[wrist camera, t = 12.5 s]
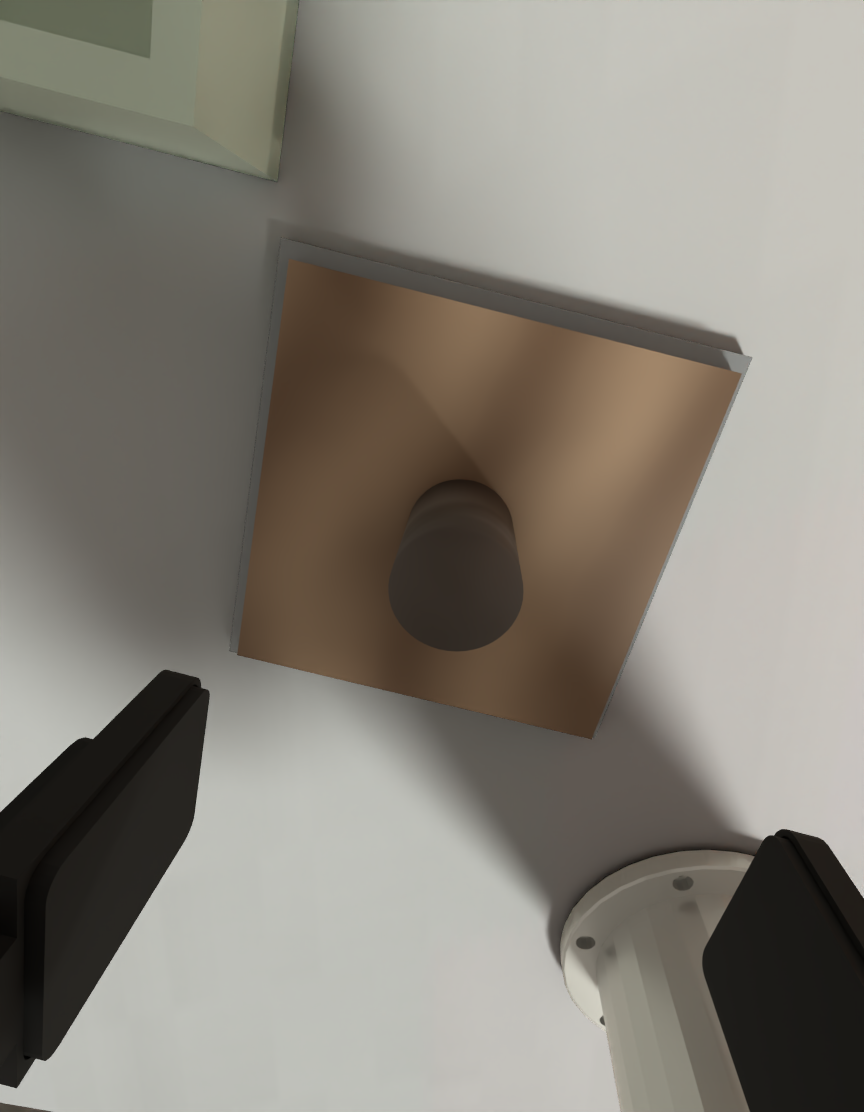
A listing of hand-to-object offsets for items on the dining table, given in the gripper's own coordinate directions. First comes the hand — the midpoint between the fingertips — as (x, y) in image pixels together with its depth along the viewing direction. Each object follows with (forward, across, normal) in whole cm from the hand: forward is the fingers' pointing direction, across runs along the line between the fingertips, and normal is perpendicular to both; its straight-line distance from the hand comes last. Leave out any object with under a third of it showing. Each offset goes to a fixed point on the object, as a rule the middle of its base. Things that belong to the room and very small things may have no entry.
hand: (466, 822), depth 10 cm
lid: (+13, +1, -1) cm, 13 cm away
